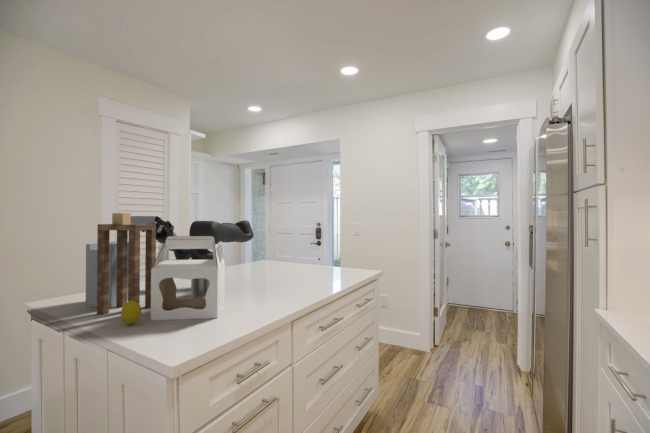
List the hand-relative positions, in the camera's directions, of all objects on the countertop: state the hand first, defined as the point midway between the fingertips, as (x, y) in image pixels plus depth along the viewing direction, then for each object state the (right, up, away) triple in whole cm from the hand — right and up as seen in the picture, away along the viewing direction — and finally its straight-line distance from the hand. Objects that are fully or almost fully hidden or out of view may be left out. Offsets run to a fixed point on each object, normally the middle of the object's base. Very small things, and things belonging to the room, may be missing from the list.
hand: (145, 218), depth 127 cm
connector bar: (0, -2, -6) cm, 6 cm away
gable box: (+24, -35, -14) cm, 44 cm away
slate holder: (-14, -34, 0) cm, 37 cm away
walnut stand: (-1, -34, -10) cm, 36 cm away
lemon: (+10, -35, -26) cm, 44 cm away
